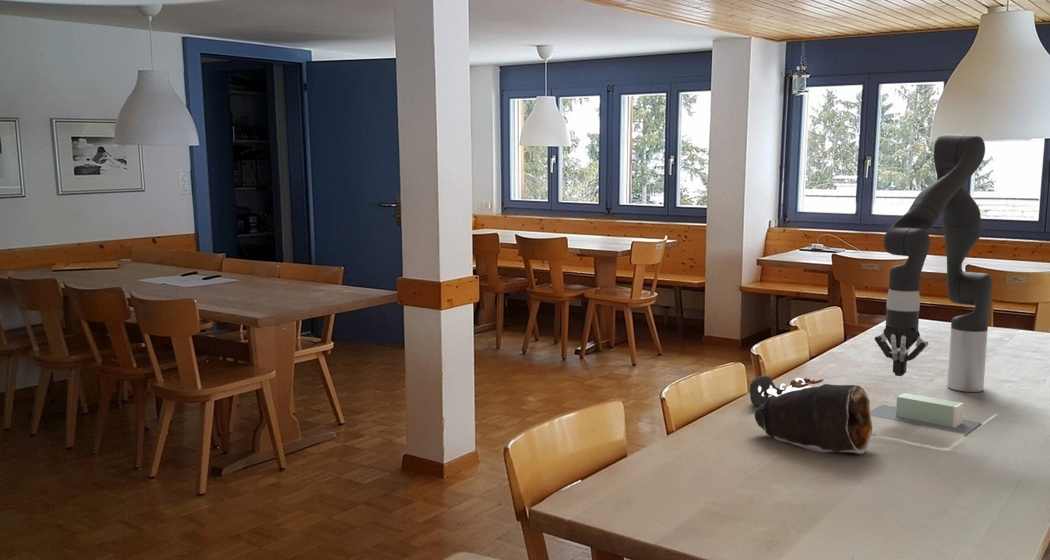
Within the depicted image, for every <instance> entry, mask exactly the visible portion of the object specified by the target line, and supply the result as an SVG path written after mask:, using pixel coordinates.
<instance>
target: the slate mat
mask: <svg viewBox="0 0 1050 560" xmlns="http://www.w3.org/2000/svg"><path fill="white" fill-rule="evenodd" d="M870 415H871V417H878V418H882V419H888V420H892V421H897V422H903V423H908V424H912V425H918V426H924V427H928V428H933V429H938V430H943V431H948V432H949V431H950V432H955V433H959V434H964V435H963V437H967V436H969V435H970V434H972V433H973V432H974V431H975V430H977V429H978V428H980V427H981V426H982V424H983V423H982V422H980V421H974V420H969V419H963V418H962V423H961V424H960V425H959V426H957V427H956V428H955V427H950V426H945V425H939V424H934V423H929V422H924V421H919V420H913V419H908V418H903V417H898V416H896V406H894V405H887V404H880V405H879V406H877V407H875V408H873V409H870Z"/></svg>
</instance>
